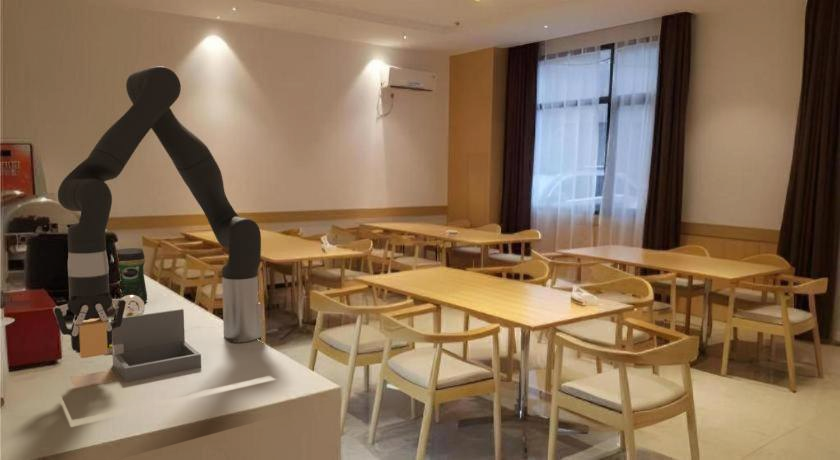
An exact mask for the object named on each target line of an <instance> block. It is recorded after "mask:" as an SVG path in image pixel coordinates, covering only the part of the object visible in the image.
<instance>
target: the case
mask: <svg viewBox="0 0 840 460" xmlns="http://www.w3.org/2000/svg"><path fill="white" fill-rule="evenodd" d="M184 310H185V309H184V308H180V309H171V310H165V311H158V312H153V313H152V312H151V313H150V312H149V313H143V314H142V315H135V316H128V317H123V318H122V322H121V326H120V327H116V328H114V329H113V330H112V353H111V354H112V366H113V367H114V369H115V370H116V371H117V373H118V374H119V375H120V376H121V378H122V379H123V380H124V382H125V383H129V382H135V381H139V380H143V379H144V380H145V379H149V378H153V377H158V376H159V377H160V376H163V375H168V374H169V375H170V374H174V373H178V372H183V371H184V372H185V371H188V370H192V369H198V368H201V367H202V354H201V353H200V352H199V351H197V350H196V349H195V348H194V347H192V346H191V345H190V343H188V342H187V341H185V338H186V337H185V315H184V314H185V311H184ZM113 319H114V318H110V322H112V321H113Z"/></svg>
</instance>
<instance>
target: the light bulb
mask: <svg viewBox="0 0 840 460" xmlns="http://www.w3.org/2000/svg"><path fill="white" fill-rule="evenodd" d="M122 299H123V300H124V301H125V302H126V304H125V309H124V313H123V317H128V316H135V315H142V314H145V307H146V306H145V302H143V300H142V299H141V298H140V297H138V296H136V295H126V296H124V297H122Z"/></svg>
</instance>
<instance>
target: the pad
mask: <svg viewBox="0 0 840 460" xmlns="http://www.w3.org/2000/svg"><path fill="white" fill-rule="evenodd" d="M70 379H71V380H72V383H73V384H74V386H75V389H76V390H78V389H82V388H88V387H92V386H93V387H94V386H97V385H103V384H107V383H112V382H119V379H118V377H117V376H116V375H115V373H114V372H113V370H112V369H107V370H101V371H95V372H92V373H86V374H81V375H75V376H70Z"/></svg>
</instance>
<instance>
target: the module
mask: <svg viewBox="0 0 840 460" xmlns="http://www.w3.org/2000/svg"><path fill="white" fill-rule="evenodd" d="M78 335H79V340H80V352H79V353H77V355H79V357H80V358H81V359H86V358H93V357H98V356H99V357H100V356H104V355H108V354H109V353H108V349H107V326H106V322H102V321H101V320H100V318H98V319H93V318H91V319H89V320H84V321H83V323H82V325H79V333H78Z"/></svg>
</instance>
